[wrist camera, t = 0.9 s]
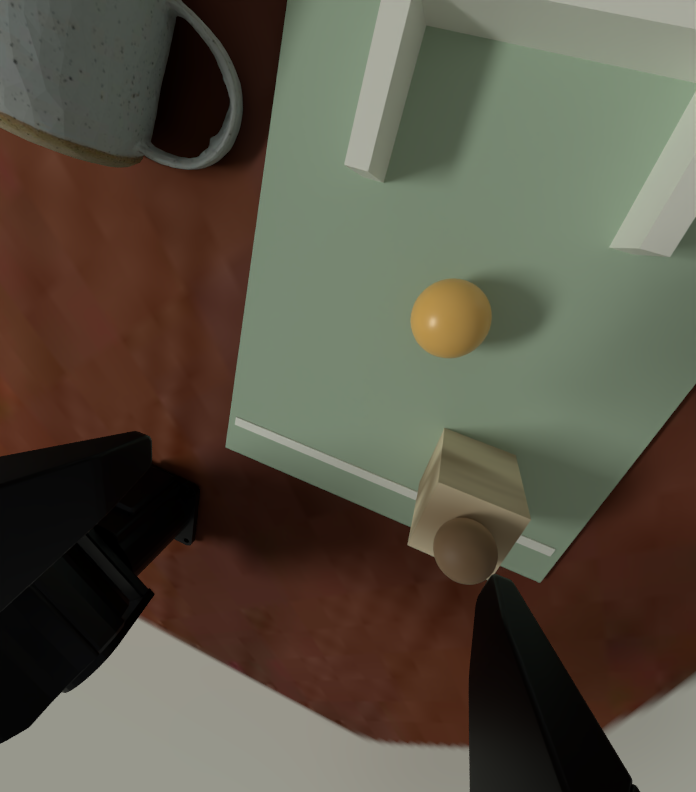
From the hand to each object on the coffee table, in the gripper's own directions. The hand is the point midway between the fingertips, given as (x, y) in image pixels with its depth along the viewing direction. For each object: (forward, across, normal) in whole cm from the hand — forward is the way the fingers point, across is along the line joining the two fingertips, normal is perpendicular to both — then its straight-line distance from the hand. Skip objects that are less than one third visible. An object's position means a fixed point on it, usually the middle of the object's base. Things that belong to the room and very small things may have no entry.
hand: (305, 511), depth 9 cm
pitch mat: (+13, -2, -3) cm, 13 cm away
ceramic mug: (+13, +15, -11) cm, 23 cm away
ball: (+10, -2, -4) cm, 11 cm away
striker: (+12, -6, +5) cm, 14 cm away
